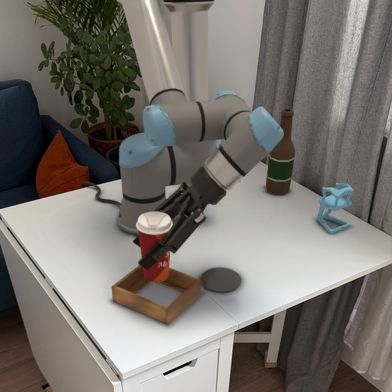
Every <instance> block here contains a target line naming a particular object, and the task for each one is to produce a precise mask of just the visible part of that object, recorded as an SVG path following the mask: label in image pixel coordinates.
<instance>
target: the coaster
mask: <svg viewBox="0 0 392 392" xmlns="http://www.w3.org/2000/svg"><path fill="white" fill-rule="evenodd" d="M199 279H201V286H202V287H204V288H205V289H206V290H208V291H210V292H213V293H218V294H226V293H231V292H234V291H236V290H237V289H239V288H240V287H241V285H242V276H241V274H239V273H238V272H237V271H235V270H234V269H232V268H228V267H219V266H218V267H212V268H208V269H207V270H205V271H203V273H202V274H201V275H200V278H199Z"/></svg>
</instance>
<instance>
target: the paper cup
mask: <svg viewBox="0 0 392 392" xmlns="http://www.w3.org/2000/svg"><path fill="white" fill-rule="evenodd" d="M173 224H174V222H173V220H172V221H171V218H170V217H169V215H167V214H165V213H162V212H156V211H155V212H147V213H144V214H142V215H140V216H139V218H138V221H137V223H136V227H137V229H138V233H139V241H140V247H139V248H140V256H141V258H142V257H143V256H144V255H145V254H146V253H147V252H148V251H149V250H150V249H151V248H152V247H153V246H154V245H155V244H156V243H157V242H158V241H159V240H161V241H162V240H163V239H164V237H165V236H166V234H167V233H168V231H169V230H170V228H171V227H172V225H173ZM167 242H168V241H167ZM170 261H171V251H168V252H166V253H165V254H164V255H163V256H162V257H161V258H160V259H159V260H158V261H157V262H156V263H155V264H154V265H153V266H152V267H151V268H150V269H149V270H147V269H145V268H144V267H143V272H144V277H145V278H146V279H147V280H148V281H150V283H151V282H152V283H160V282H161V281H164V280H166V279H167V278H168V276H169V268H170V263H171V262H170Z"/></svg>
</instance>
